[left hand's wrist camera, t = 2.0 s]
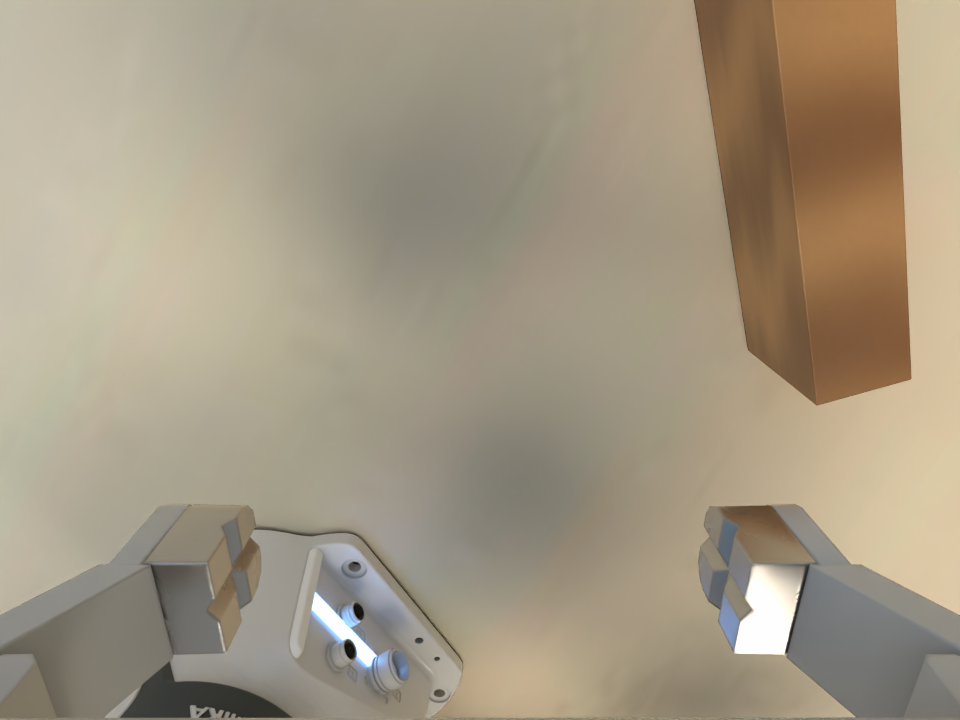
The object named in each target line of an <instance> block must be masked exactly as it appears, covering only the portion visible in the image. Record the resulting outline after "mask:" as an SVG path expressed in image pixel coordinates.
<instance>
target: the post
mask: <svg viewBox="0 0 960 720" xmlns="http://www.w3.org/2000/svg"><path fill="white" fill-rule="evenodd" d="M695 7H696V13H697V20H698V26H699V33H700V39H701V46H702V52H703V59H704V65H705V72H706V78H707V85H708V91H709V98H710V104H711V111H712V117H713V124H714V130H715V137H716V143H717V150H718V156H719V163H720V169H721V176H722V182H723V189H724V195H725V202H726V208H727V215H728V221H729V228H730V234H731V241H732V247H733V254H734V261H735V267H736V274H737V280H738V287H739V293H740V300H741V306H742V313H743V319H744V326H745V332H746V339H747V345H748V350H749V351H750V352H751V353H752V354H753V355H755V356H756V357H757V358H758V359H760V360H761V361H762V362H763V363H765V364H766V365H767V366H768V367H770V368H771V369H772V370H773V371H775V372H776V373H777V374H778V375H780V376H781V377H782V378H783V379H784V380H786V381H787V382H788V383H789V384H791V385H792V386H793V387H794V388H796V389H797V390H798V391H799V392H801V393H802V394H803V395H804V396H806V397H807V398H808V399H809V400H811V401H812V402H813V403H814V404H816V405H820V404H824V403H827V402H831V401H835V400H838V399H842V398H846V397H849V396H853V395H856V394H860V393H864V392H867V391H871V390H874V389H878V388H882V387H885V386H889V385H892V384H896V383H900V382H903V381H907V380H910V379H911V359H910V335H909V311H908V287H907V263H906V239H905V214H904V190H903V166H902V142H901V118H900V94H899V70H898V45H897V21H896V0H695Z"/></svg>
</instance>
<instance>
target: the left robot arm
mask: <svg viewBox="0 0 960 720" xmlns="http://www.w3.org/2000/svg"><path fill="white" fill-rule="evenodd" d="M255 527H256V522H255V517H254V513H253V510H252V509H251V508H250V507H249V506H239V505H190V504H166V505H163V506H160V507H158V508H157V509H156V510H155V512H154V513H153V514H152V515H151V516H150V517H149V518H148V520H147V521H146V522H145V523H144V524H143V525H142V527H141V528H140V529H139V530H138V531H137V532H136V533H135V535H134V536H133V537H132V538H131V539H130V540H129V542H128V543H127V544H126V545H125V546H124V547H123V548H122V550H121V551H120V552H119V553H118V554H117V555H116V556H115V558H114V559H113V560H112V561H111V562H110V563H109V565H97V566H96V567H94V568H92V569H90V570H88V571H86V572H84V573H82V574H80V575H78V576H76V577H74V578H72V579H70V580H68V581H66V582H64V583H62V584H60V585H58V586H56V587H55V588H53V589H51V590H49V591H47V592H45V593H43V594H41V595H39V596H37V597H35V598H33V599H31V600H29V601H27V602H25V603H23V604H21V605H19V606H17V607H15V608H14V609H12V610H10V611H8V612H6V613H4V614H2V615H0V720H960V615H958V614H956V613H954V612H952V611H950V610H948V609H946V608H944V607H942V606H940V605H938V604H937V603H935V602H933V601H931V600H929V599H927V598H925V597H923V596H921V595H919V594H917V593H915V592H913V591H911V590H909V589H907V588H905V587H903V586H901V585H900V584H898V583H896V582H894V581H892V580H890V579H888V578H886V577H884V576H882V575H880V574H878V573H876V572H874V571H872V570H870V569H868V568H866V567H864V566H863V565H851V563H850V562H849V561H848V560H847V559H846V558H845V556H844V555H843V554H842V553H841V552H840V551H839V550H838V548H837V547H836V546H835V545H834V544H833V543H832V542H831V540H830V539H829V538H828V537H827V536H826V535H825V533H824V532H823V531H822V530H821V529H820V528H819V527H818V525H817V524H816V523H815V522H814V521H813V520H812V519H811V517H810V516H809V515H808V514H807V513H806V512H805V510H804V509H803V508H802V507H800V506H798V505H796V504H781V505H766V506H710V507H709V509H708V511H707V513H706V516H705V522H704V527H705V529H706V531H707V532H708V534H709V536H710V537H709V538H708V539H707V540H706V541H705V542H704V543H703V544H702V545H701V546H700V553H699V561H698V564H699V576H700V581H701V584H702V588H703V591H704V593H705V595H706V597H707V599H708V601H709V602H710V603H712V604H713V605H714V606H716V607H717V608H718V609H720V614H719V619H718V622H719V624H720V626H721V628H722V630H723V632H724V634H725V636H726V638H727V640H728V642H729V644H730V646H731V648H732V650H733V652H734V653H739V654H775V655H787V656H786V658H788V659H789V660H790V661H791V662H792V663H794V664H795V665H796V666H797V667H798V668H799V669H801V670H802V671H803V672H804V673H805V674H806V675H808V676H809V677H810V678H811V679H812V680H813V681H815V682H816V683H817V684H818V685H819V686H820V687H822V688H823V689H824V690H825V691H826V692H828V693H829V694H830V695H831V696H832V697H833V698H835V699H836V700H837V701H838V702H839V703H840V704H842V705H843V706H844V707H845V708H846V709H847V710H849V711H850V712H851V713H852V714H853V715H854V716H856V717H857V718H431V717H433V716H434V715H435V714H436V713H437V712H438V711H439V710H440V709H441V708H442V707H443V706H444V705H445V704H446V703H447V702H448V701H449V700H450V698H451V697H452V696H453V694H454V692H455V691H456V689H457V687H458V685H459V683H460V680H461V677H462V670H463V663H462V661H461V660H460V658H459V657H458V656H457V654H456V653H455V652H454V651H453V649H452V648H451V647H450V646H449V645H448V643H447V642H446V641H445V640H444V639H443V637H442V636H441V635H440V634H439V633H438V631H437V630H436V629H435V628H434V626H433V625H432V624H431V623H430V622H429V620H428V619H427V618H426V617H425V616H424V614H423V613H422V612H421V611H420V610H419V608H418V607H417V606H416V605H415V603H414V602H413V601H412V600H411V599H410V597H409V596H408V595H407V594H406V593H405V591H404V590H403V589H402V588H401V587H400V585H399V584H398V583H397V582H396V580H395V579H394V578H393V577H392V576H391V574H390V573H389V572H388V571H387V570H386V568H385V567H384V566H383V565H382V564H381V562H380V561H379V560H378V559H377V557H376V556H375V555H374V554H373V553H372V551H371V550H370V549H369V548H368V547H367V545H366V544H365V543H364V542H363V541H362V540H361V539H360V538H359V537H358V536H356V535H353V534H349V533H332V534H324V535H318V536H301V535H295V534H290V533H285V532H280V531H272V530H254V529H255ZM352 562H358V563H359V564H353V563H352Z"/></svg>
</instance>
